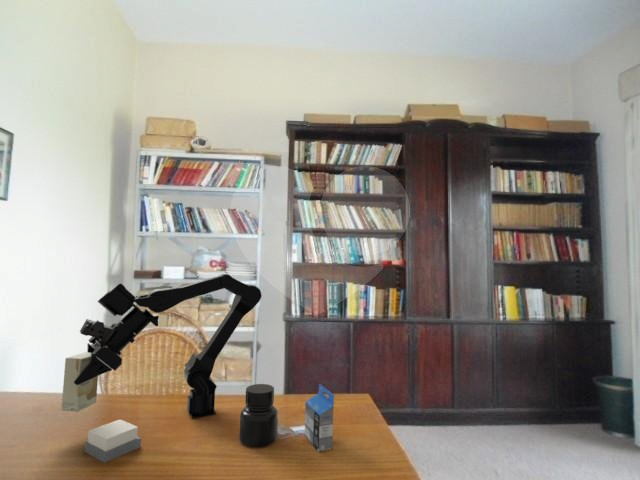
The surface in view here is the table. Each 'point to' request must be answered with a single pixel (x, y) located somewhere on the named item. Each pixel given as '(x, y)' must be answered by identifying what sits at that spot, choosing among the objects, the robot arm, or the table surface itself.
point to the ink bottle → (258, 417)
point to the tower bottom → (112, 450)
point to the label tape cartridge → (320, 419)
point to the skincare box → (82, 393)
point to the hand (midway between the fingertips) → (74, 379)
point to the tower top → (112, 435)
